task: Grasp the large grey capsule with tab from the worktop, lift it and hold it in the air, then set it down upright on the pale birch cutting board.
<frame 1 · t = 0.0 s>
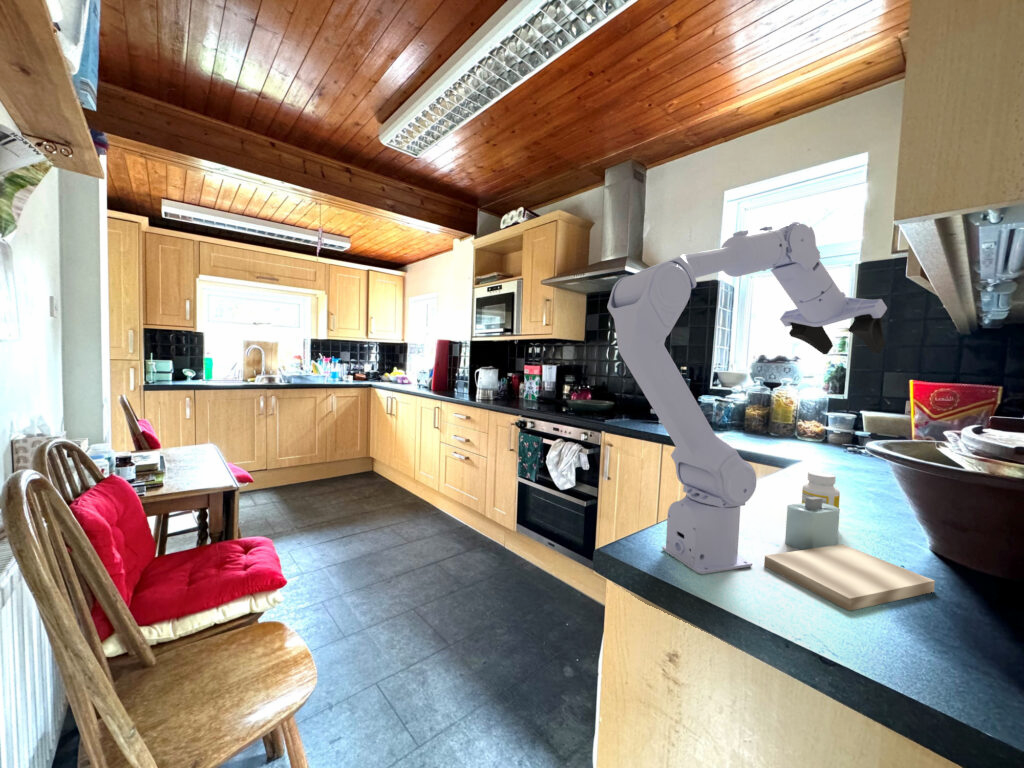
hand: (852, 349, 67), 32 cm above the counter, tool tilted 50°, fingers open, 7 cm apart
cutting board: (844, 578, 55), on the counter
supplement bottle: (818, 527, 73), on the counter
grey capsule with tab: (811, 543, 66), on the counter
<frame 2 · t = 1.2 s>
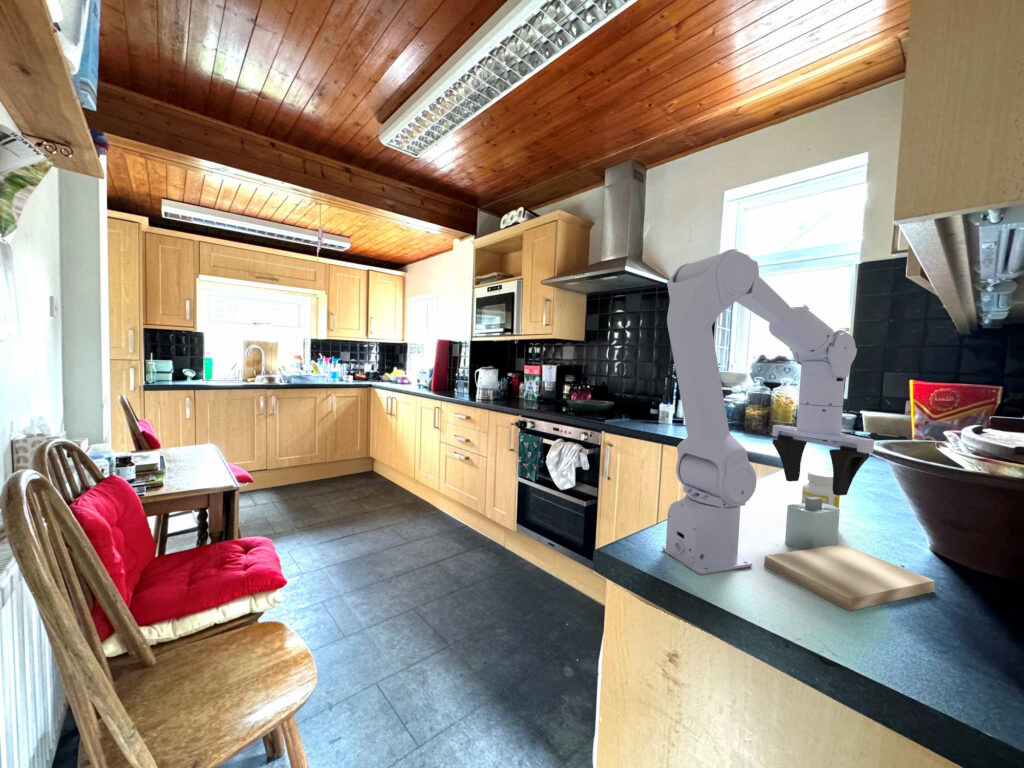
hand: (814, 487, 65), 9 cm above the counter, tool pointing down, fingers open, 7 cm apart
nothing on the counter moved.
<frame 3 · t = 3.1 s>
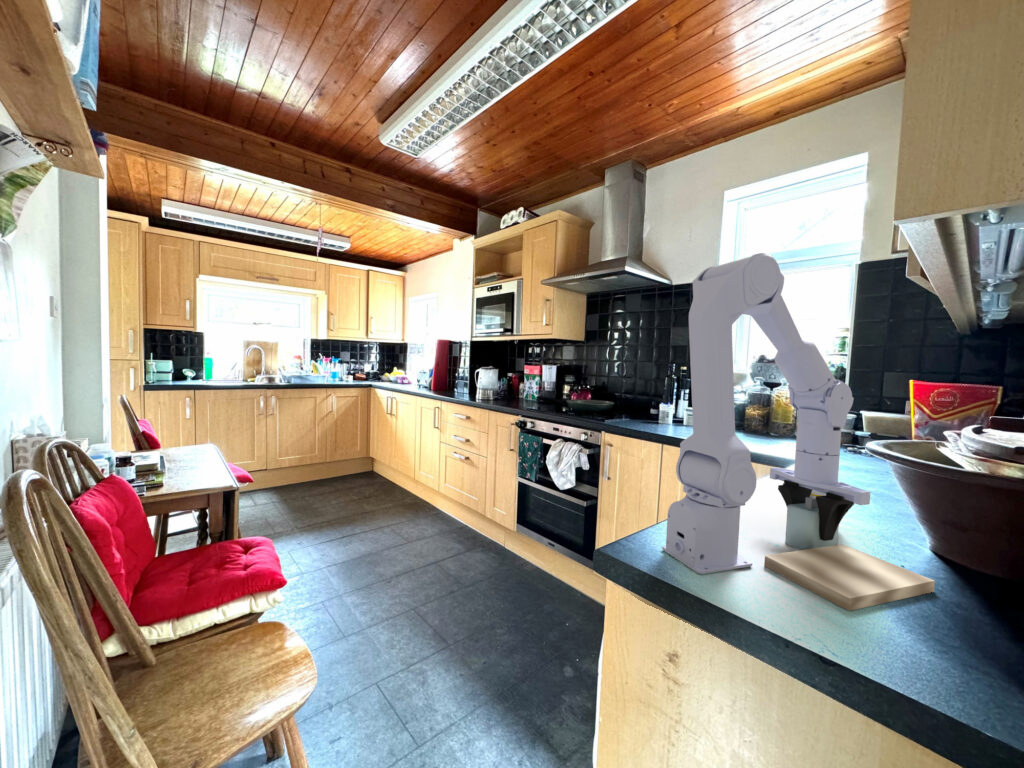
hand: (811, 533, 66), 2 cm above the counter, tool pointing down, fingers closed on grey capsule with tab, 4 cm apart
grey capsule with tab: (811, 543, 66), on the counter, touching gripper
everything else where it was.
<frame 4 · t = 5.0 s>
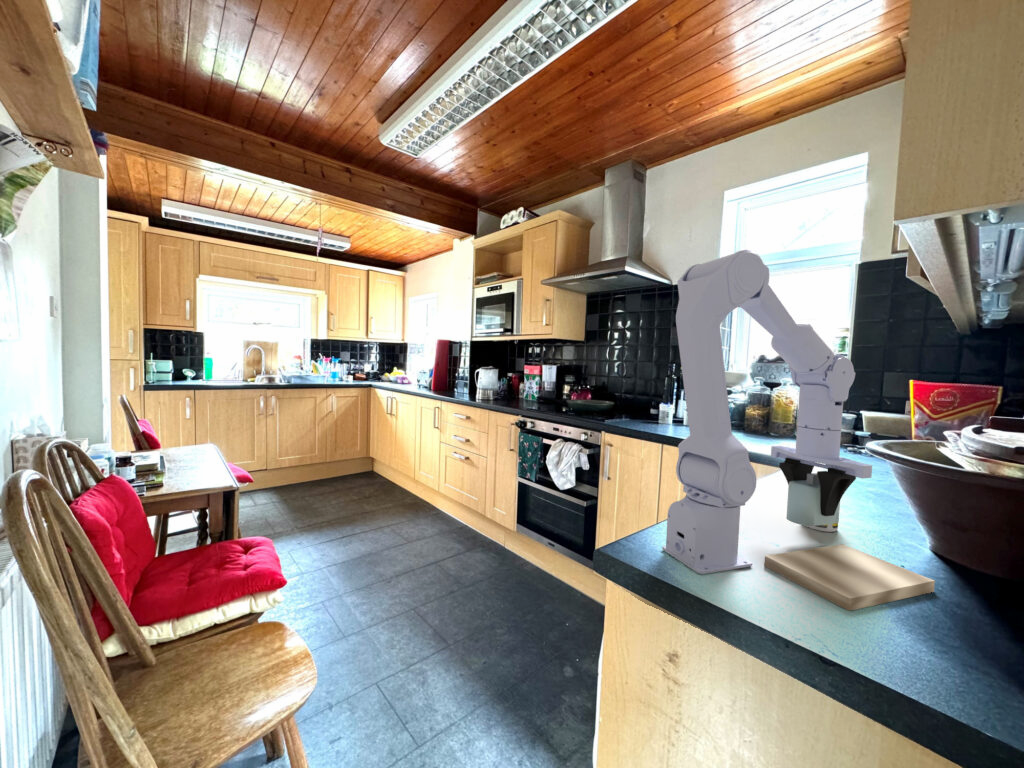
hand: (813, 510, 66), 6 cm above the counter, tool pointing down, fingers closed on grey capsule with tab, 4 cm apart
grey capsule with tab: (812, 519, 66), point 4 cm above the counter, touching gripper
everything else where it was.
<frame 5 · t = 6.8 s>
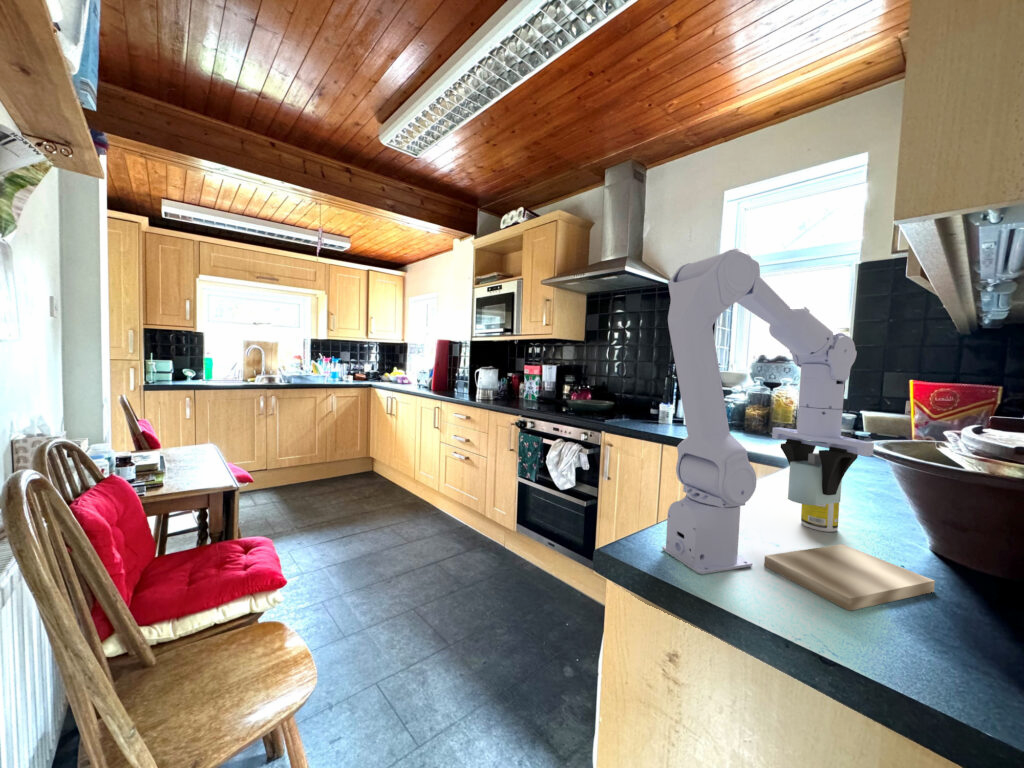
hand: (814, 490, 65), 9 cm above the counter, tool pointing down, fingers closed on grey capsule with tab, 4 cm apart
grey capsule with tab: (813, 499, 66), point 7 cm above the counter, touching gripper
everything else where it was.
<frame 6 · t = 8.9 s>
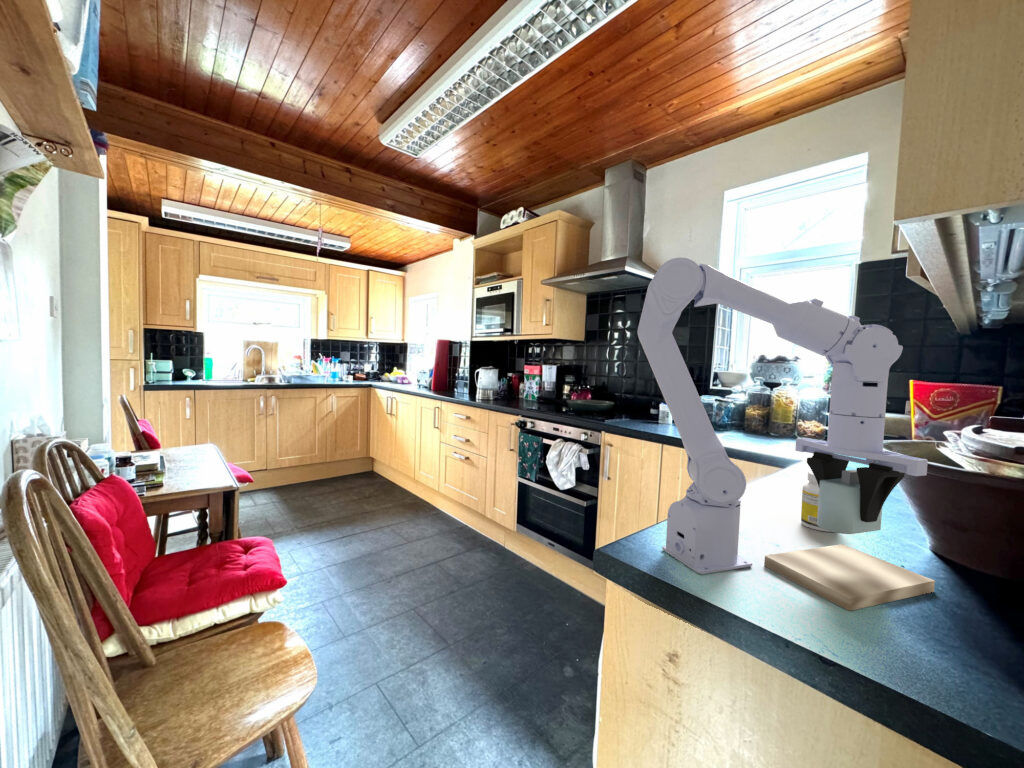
hand: (849, 514, 54), 9 cm above the counter, tool pointing down, fingers closed on grey capsule with tab, 4 cm apart
grey capsule with tab: (848, 526, 54), point 7 cm above the counter, touching gripper
everything else where it was.
when the fingers open (4 cm above the counter, at t = 10.8 s): grey capsule with tab stays where it is, resting on cutting board.
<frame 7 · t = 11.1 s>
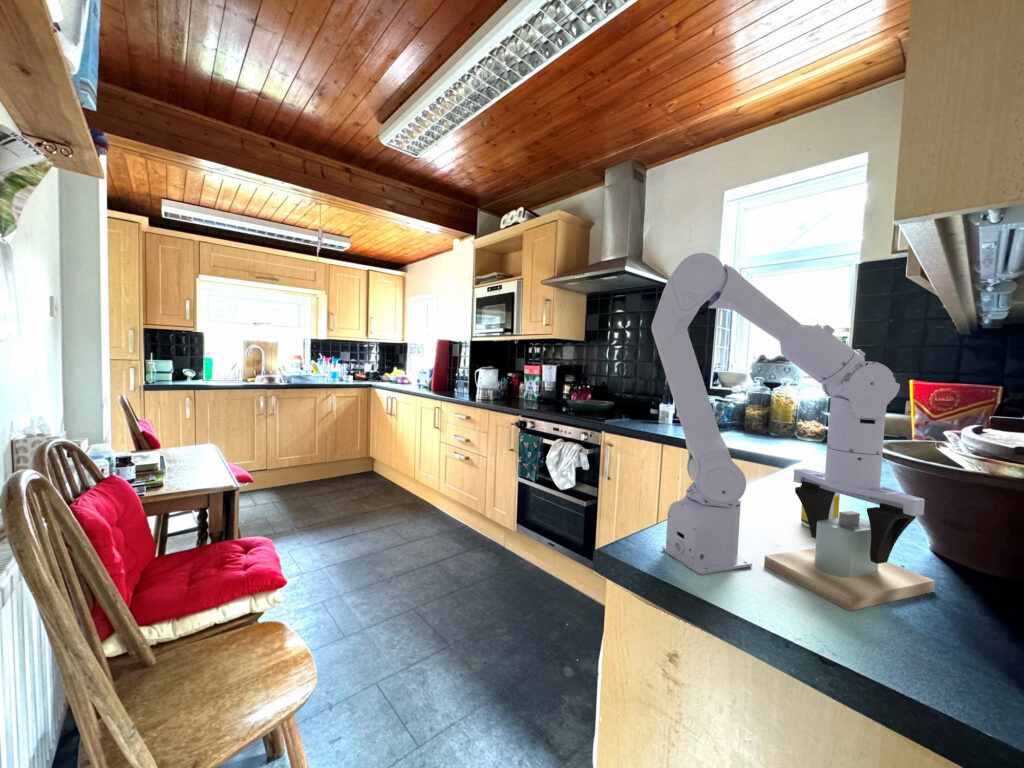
hand: (846, 548, 54), 4 cm above the counter, tool pointing down, fingers open, 7 cm apart
grey capsule with tab: (845, 567, 55), point 1 cm above the counter, touching cutting board
everything else where it was.
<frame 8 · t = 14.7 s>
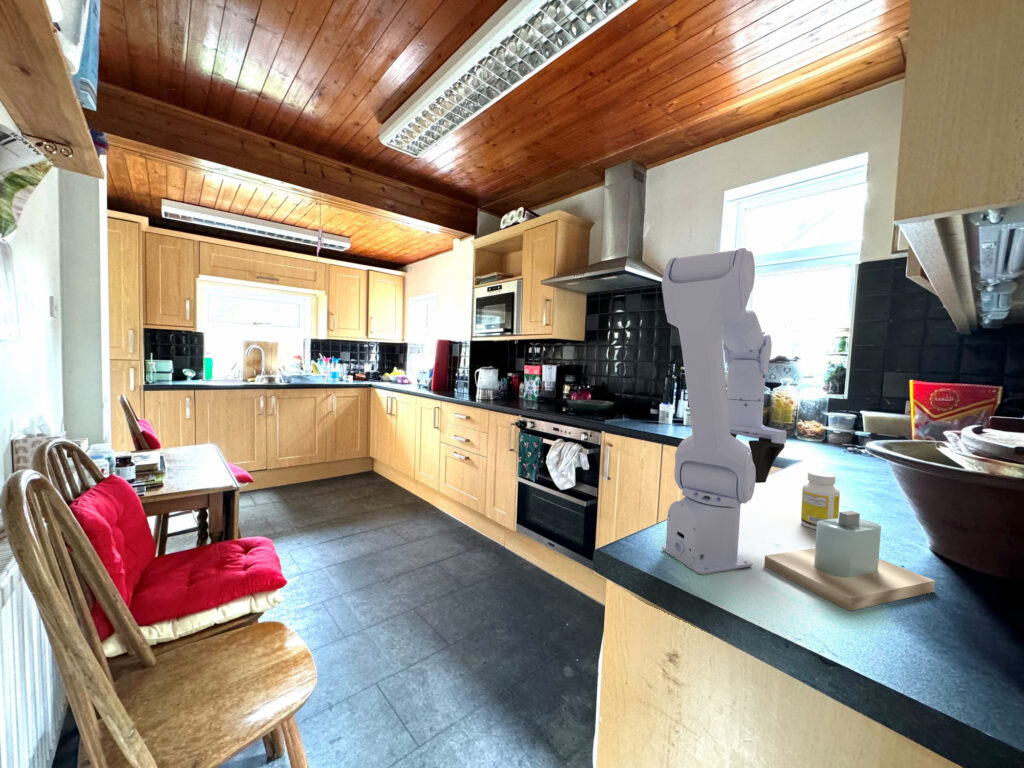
hand: (740, 476, 71), 9 cm above the counter, tool pointing down, fingers open, 7 cm apart
nothing on the counter moved.
at the end: grey capsule with tab inside the target area on the cutting board (0.0 cm from its centre), point 1.5 cm above the cutting board's base; grey capsule with tab tilted 0°; the gripper is holding nothing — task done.
